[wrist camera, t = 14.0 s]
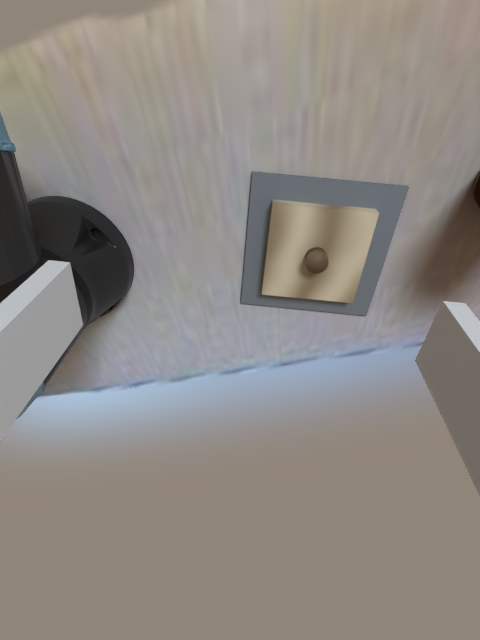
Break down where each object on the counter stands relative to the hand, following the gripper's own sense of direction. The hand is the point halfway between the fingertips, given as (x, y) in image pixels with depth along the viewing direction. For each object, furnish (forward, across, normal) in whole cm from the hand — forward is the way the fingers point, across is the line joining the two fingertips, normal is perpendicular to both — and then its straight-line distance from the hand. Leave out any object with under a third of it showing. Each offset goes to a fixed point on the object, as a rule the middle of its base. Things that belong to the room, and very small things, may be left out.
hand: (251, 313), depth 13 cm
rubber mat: (+29, +7, -10) cm, 31 cm away
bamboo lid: (+28, +7, -10) cm, 31 cm away
